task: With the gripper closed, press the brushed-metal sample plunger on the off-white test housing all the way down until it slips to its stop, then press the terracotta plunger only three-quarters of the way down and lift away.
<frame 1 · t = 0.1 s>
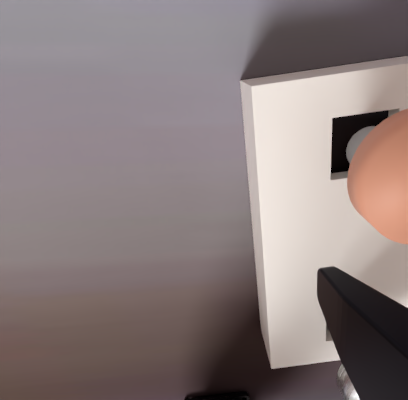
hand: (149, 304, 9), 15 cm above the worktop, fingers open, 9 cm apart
test housing: (331, 215, 24), on the worktop
terracotta plug: (396, 163, 15), point 7 cm above the worktop, slide at 0.0 cm
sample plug: (373, 357, 21), point 7 cm above the worktop, slide at 0.0 cm
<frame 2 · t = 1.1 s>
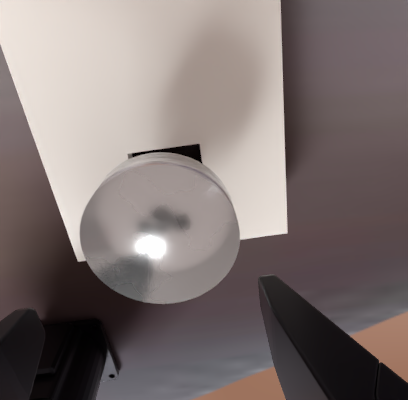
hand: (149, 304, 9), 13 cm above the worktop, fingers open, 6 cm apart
test housing: (152, 45, 18), on the worktop
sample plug: (165, 209, 14), point 7 cm above the worktop, slide at 0.0 cm
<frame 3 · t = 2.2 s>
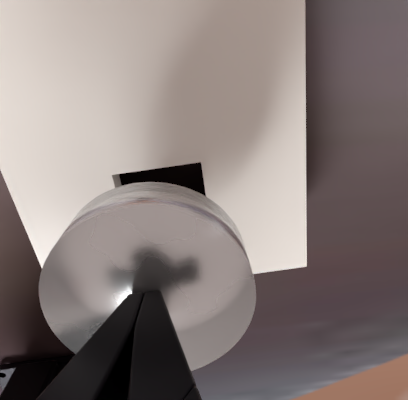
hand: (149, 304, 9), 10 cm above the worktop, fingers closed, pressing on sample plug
test housing: (143, 41, 15), on the worktop
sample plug: (158, 248, 11), point 7 cm above the worktop, slide at 0.1 cm, touching gripper
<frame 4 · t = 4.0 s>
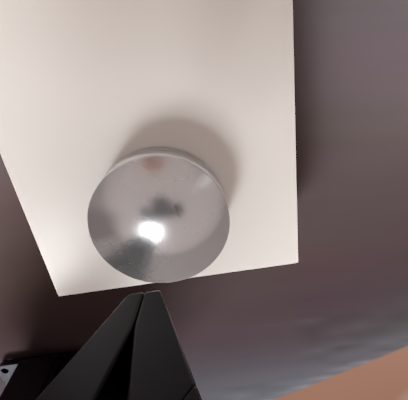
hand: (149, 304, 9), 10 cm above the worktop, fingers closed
test housing: (142, 49, 15), on the worktop
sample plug: (163, 198, 15), point 3 cm above the worktop, slide at 4.1 cm
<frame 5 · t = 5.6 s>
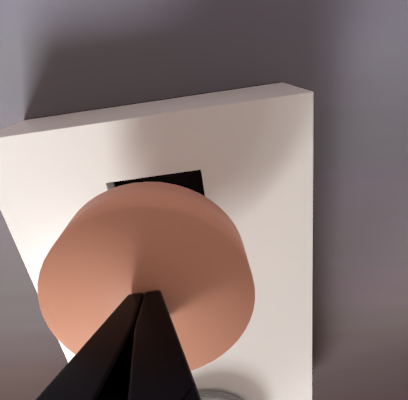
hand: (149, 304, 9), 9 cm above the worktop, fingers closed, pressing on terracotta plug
test housing: (187, 283, 19), on the worktop
terracotta plug: (157, 248, 11), point 6 cm above the worktop, slide at 1.0 cm, touching gripper
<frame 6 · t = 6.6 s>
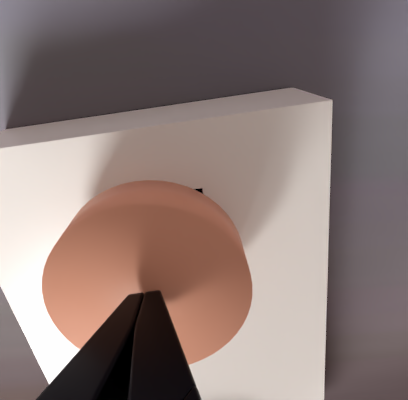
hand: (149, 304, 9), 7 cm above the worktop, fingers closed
test housing: (187, 304, 18), on the worktop
terracotta plug: (157, 245, 11), point 4 cm above the worktop, slide at 3.0 cm
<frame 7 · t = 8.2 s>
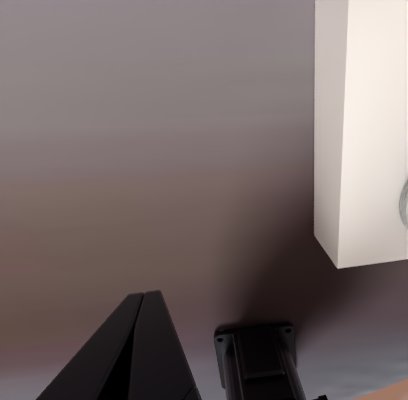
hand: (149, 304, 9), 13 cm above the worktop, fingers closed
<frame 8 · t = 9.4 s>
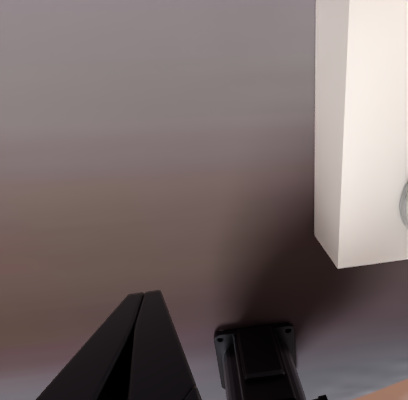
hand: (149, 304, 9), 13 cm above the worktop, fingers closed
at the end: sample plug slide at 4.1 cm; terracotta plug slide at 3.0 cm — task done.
